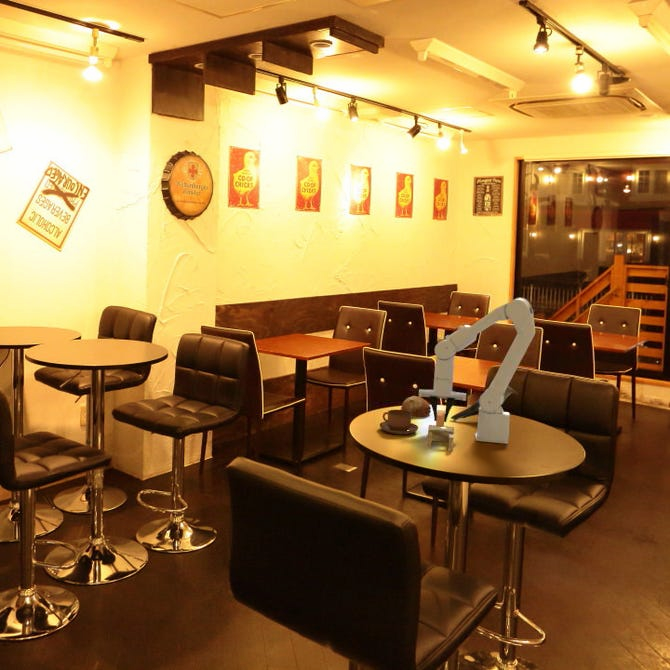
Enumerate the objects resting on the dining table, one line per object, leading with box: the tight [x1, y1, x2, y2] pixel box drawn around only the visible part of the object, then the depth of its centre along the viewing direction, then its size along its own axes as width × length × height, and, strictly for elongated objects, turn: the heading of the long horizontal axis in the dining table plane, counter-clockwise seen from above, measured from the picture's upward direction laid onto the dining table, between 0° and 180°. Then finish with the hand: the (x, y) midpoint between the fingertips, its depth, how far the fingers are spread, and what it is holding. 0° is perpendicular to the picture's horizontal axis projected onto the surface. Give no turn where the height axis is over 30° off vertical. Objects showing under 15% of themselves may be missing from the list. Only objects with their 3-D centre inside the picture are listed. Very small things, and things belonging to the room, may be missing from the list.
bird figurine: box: [450, 385, 519, 422], centre depth 240 cm, size 13×10×20 cm
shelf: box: [426, 424, 455, 452], centre depth 212 cm, size 7×12×5 cm, turn 170°
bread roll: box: [400, 395, 432, 418], centre depth 248 cm, size 10×10×8 cm
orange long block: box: [435, 409, 446, 426], centre depth 225 cm, size 2×8×6 cm, turn 170°
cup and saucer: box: [379, 409, 419, 435], centre depth 224 cm, size 12×12×6 cm
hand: (440, 420), depth 225 cm, fingers closed on orange long block, 2 cm apart
